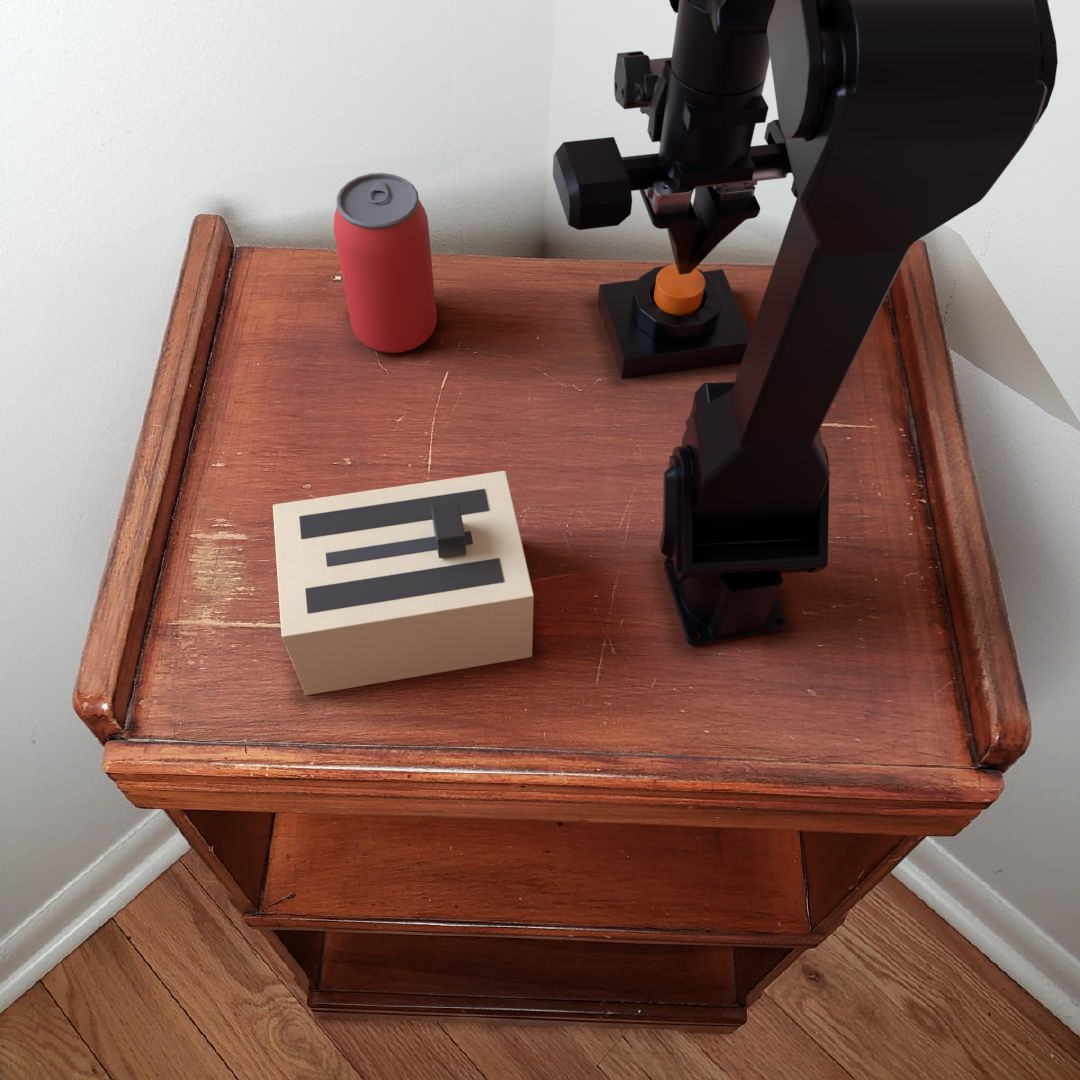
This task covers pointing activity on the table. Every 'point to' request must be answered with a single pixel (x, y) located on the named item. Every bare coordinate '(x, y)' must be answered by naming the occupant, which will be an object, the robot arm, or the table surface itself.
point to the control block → (671, 327)
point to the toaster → (401, 584)
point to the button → (678, 291)
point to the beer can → (385, 262)
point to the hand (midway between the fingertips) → (682, 270)
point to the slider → (448, 529)
